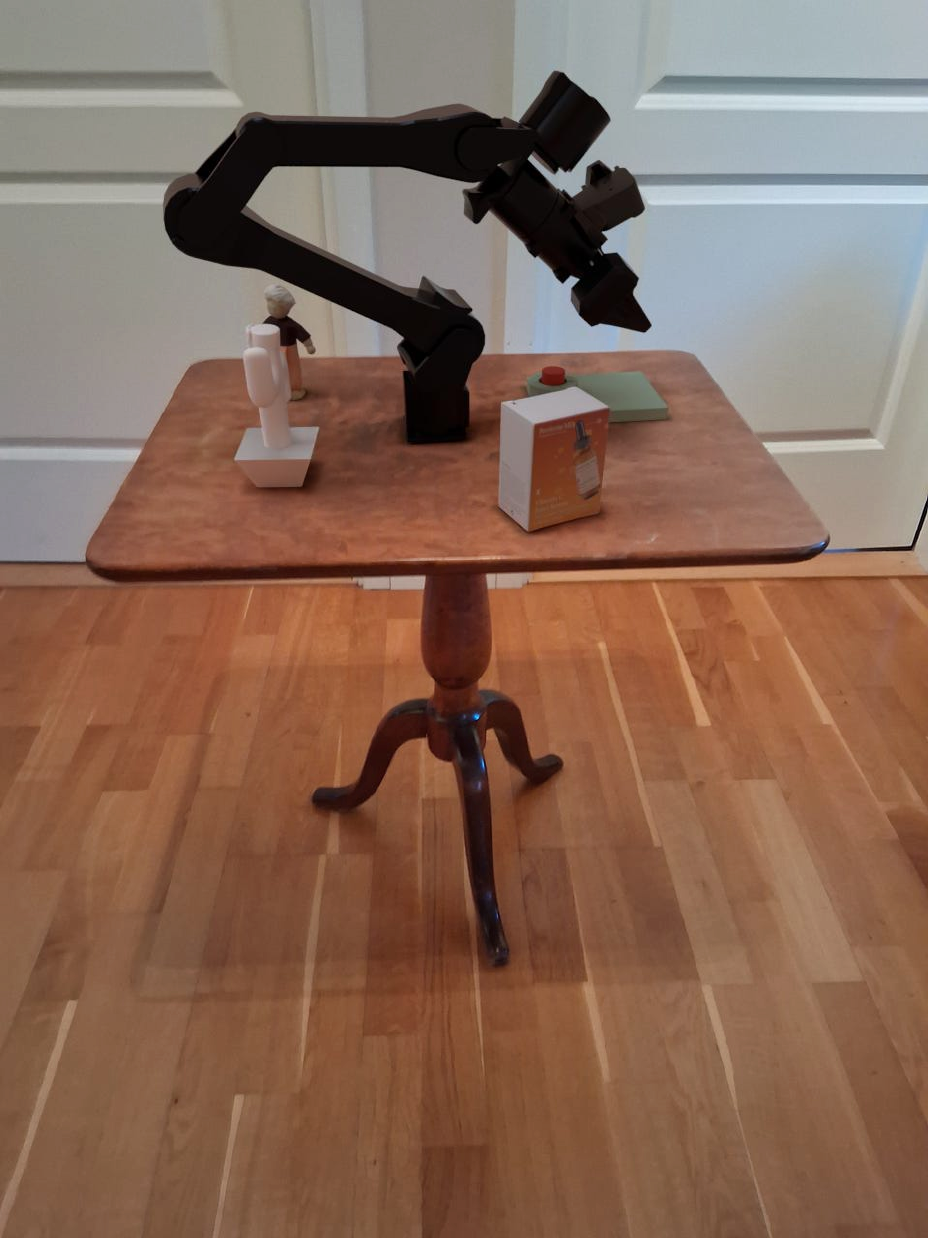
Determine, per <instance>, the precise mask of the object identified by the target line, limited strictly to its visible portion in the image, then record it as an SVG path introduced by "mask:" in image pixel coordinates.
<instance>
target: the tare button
mask: <svg viewBox="0 0 928 1238" xmlns="http://www.w3.org/2000/svg"><path fill="white" fill-rule="evenodd" d="M541 372H542V380H541V383H542V384H544V385H549V386H560V385H563V384H564V381H565V373H566V369H565V368H564V367H560V366H556V365H550V366H544V367H543V368H542V369H541Z"/></svg>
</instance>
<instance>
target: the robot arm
mask: <svg viewBox="0 0 928 1238" xmlns="http://www.w3.org/2000/svg"><path fill="white" fill-rule="evenodd" d="M611 121H612V119H611V117H610V115H609V113H608V112H607V110H606V109H605V108H604V106H603V105H602V103H600V102H599V100H598V99H596V97H594V96H592V95H589V94H588V93H587V92H586V91H585V90H584V89H583V88H581V86H579V85H578V84H577V83H575V82H574V81H573V80H571V79H570V78H569V76H567V74H566V73H565V72H564V71H560V70H553V71H552V72H551V74H550V75H549V76H548V78H547V79H546V81H545V83H544V84H543V87H542V88H541V90H540V92H539V93H538V95H537V96H536V98H534V100H533V101H532V102H531V104H530V105H529V107H528V108H527V110H525V112H524V114H523V115H522V116H521V117H520V119H519V120H518V121H516V120H514V119H512V118H510V117H507V116H503V117H492V116H490V115H488V114H487V113H485V112H483V111H480V110H479V109H476V108H474V107H472V106H469V105H467V104H463V103H451V104H446V105H440V106H433V107H429V108H424V109H420V110H418V111H414V112H410V113H406V114H403V115H397V116H392V117H390V116H389V117H385V116H384V117H383V116H342V115H341V116H337V115H336V116H335V115H331V116H330V115H285V114H284V115H282V114H281V115H280V114H268V113H265V112H261V111H252V112H248V113H246V114H244V115H243V116H241V118H239V120H238V122H237V123H236V125H235V126H236V127H235V128H234V129H233V130H232V132H231V133H230V134H229V135H228V136H227V137H226V138H225V139H224V140H223V141H222V142H221V143H220V144H219V145H218V146H217V147H216V148H215V149H214V150H213V152H211V153H210V154H209V155H208V157H206V158H205V160H203V162H202V163H201V165H200V166H199V167H198V168H197V169H196V170H195V172H194V173H187V174H185V175H182V176H179V177H176V178H175V179H174V180H173V181H172V182H171V183H169V184H168V186H167V188H166V190H165V192H164V195H163V201H162V215H163V223H164V231H165V232H166V234H167V237H168V239H169V241H170V242H171V244H172V245H173V246H174V247H175V248H176V250H177V251H179V252H181V253H182V254H184V255H186V256H188V257H191V258H194V259H198V260H202V261H204V262H205V261H206V262H209V263H214V264H218V265H222V266H225V267H233V268H241V269H251V270H252V269H253V270H256V271H261V272H264V273H265V274H268V275H270V276H272V277H274V278H277V279H278V280H282V281H284V282H286V283H289V284H291V285H292V286H295V287H297V288H300V289H301V290H303V291H306V292H308V293H310V294H312V295H315V296H317V297H319V298H321V299H323V300H326V301H329V302H331V303H333V304H335V305H337V306H340V307H342V308H344V309H346V310H349V311H351V312H353V313H354V314H355V313H356V314H358V315H360V316H362V317H365V318H367V319H369V320H371V321H373V322H375V323H378V324H380V325H383V326H384V327H387V328H390V329H391V330H392V331H394V332H395V333H397V335H399V336H401V337H402V340H401V341H400V342H399V343H398V344H397V346H396V350H397V352H398V355H399V358H400V360H401V362H402V363H403V365H404V366H405V367H406V370H403V371H402V386H403V387H402V389H403V410H404V413H403V416H402V421H403V426H404V427H403V428H404V434H405V441H406V442H407V443H409V444H414V443H415V444H416V443H430V442H431V443H432V442H434V443H435V442H448V441H450V442H451V441H465V440H467V439H468V432H467V429H468V428H469V427H470V425H471V424H470V423H471V422H470V421H471V417H470V413H471V412H470V410H471V409H470V407H471V405H470V403H471V402H470V401H471V400H470V397H471V396H470V393H471V392H470V390H469V386H468V384H467V380H468V378H469V377H470V376H469V375H470V373H471V370H472V367H473V364H474V363H475V362H476V361H478V360H479V358H480V357H481V355H482V354H483V351H484V349H485V346H486V333H485V329H484V326H483V324H482V323H481V322H480V321H479V319H478V318H477V317H476V316H475V315H474V313H472V312H473V311H474V309H473V308H472V306H471V305H470V304H469V303H468V302H467V301H466V300H465V299H464V298H463V297H462V296H461V294H460V293H459V292H458V291H457V290H456V289H451V288H450V289H449V288H445V287H441V286H440V285H438V284H437V283H435V282H434V281H432V280H431V279H429V277H427V276H425V275H422V276H421V279H420V283H419V286H418V287H410V286H402V285H399V284H397V283H395V282H393V281H390V280H388V279H386V278H384V277H382V276H380V275H378V274H377V273H374V272H371V271H370V270H367V269H365V268H363V267H361V266H359V265H357V264H355V263H353V262H351V261H349V260H347V259H345V258H342V257H340V256H338V255H336V254H334V253H331V252H330V251H328V250H325V249H323V248H321V247H319V246H317V245H315V244H313V243H311V242H309V241H306V240H304V239H302V238H300V237H298V236H296V235H294V234H292V233H289V232H288V231H286V230H284V229H281V228H279V227H277V226H275V225H272V224H271V223H269V222H268V221H267V220H266V219H264V218H263V217H262V216H261V215H259V214H258V213H257V212H256V211H254V210H253V209H251V208H250V207H249V206H248V205H247V204H248V203H249V202H250V200H251V199H252V198H253V196H254V194H255V193H256V192H257V190H258V188H259V187H260V186H261V184H262V183H263V181H264V180H265V178H266V177H267V176H268V174H269V173H270V172H271V171H272V170H273V169H274V168H280V167H281V168H283V167H284V168H285V167H289V168H291V167H293V168H294V167H295V168H297V167H299V168H301V167H302V168H305V167H306V168H308V167H309V168H401V169H407V170H411V171H412V170H413V171H416V172H419V173H423V174H427V175H431V176H435V177H437V178H443V179H448V180H451V181H452V180H453V181H457V182H462V183H467V184H477V185H476V186H474V187H471V188H463V189H462V191H461V192H462V196H463V201H464V202H463V215H464V217H465V218H466V219H468V221H470V222H471V223H473V224H474V225H478V224H480V223H481V222H482V221H483V219H484V217H486V215H487V214H488V212H490V213H491V214H492V215H493V216H494V217H495V218H496V219H497V220H498V221H499V222H501V224H502V225H503V226H504V227H506V228H507V229H508V231H510V232H511V233H512V234H513V235H514V236H515V237H516V238H518V240H519V241H521V242H522V244H523V245H524V247H525V249H526V251H527V252H528V253H529V254H530V256H532V257H533V258H534V259H536V258H537V257H538V258H539V260H541V261H542V263H544V264H545V265H546V266H547V267H548V269H550V270H551V272H552V274H553V275H554V278H556V279H557V280H558V282H560V283H561V284H562V285H564V284H565V283H566V282H567V280H568V279H570V277H573V278H575V279H578V280H577V281H576V282H575V283H574V284H573V286H572V287H571V288H570V289H571V290H570V302H571V304H572V306H573V308H574V309H575V311H576V313H577V315H578V316H579V317H580V318H581V319H582V320H583V321H584V322H585V323H586V324H587V325H588V326H590V327H591V328H593V327H595V326H599V325H604V326H612V327H617V328H621V329H626V330H629V331H633V332H638V333H642V334H645V333H647V332H648V331H649V330H650V329H651V328H652V326H653V325H652V323H651V321H650V319H649V317H648V316H647V315H646V313H645V311H644V309H643V308H642V306H641V305H640V303H639V302H638V300H637V298H636V297H635V295H634V291H635V289H636V287H637V286H638V284H639V280H640V277H639V276H638V275H637V273H636V271H634V269H633V268H632V266H631V265H630V264H629V263H628V262H627V261H626V260H625V259H624V258H623V256H622V255H621V254H619V253H618V252H607V253H604V250H603V248H602V246H603V245H605V243H606V242H607V241H608V240H609V238H608V237H607V236H606V234H604V233H603V232H608V231H611V230H612V229H614V228H616V227H618V226H619V225H621V224H623V223H625V222H627V221H628V220H630V219H632V218H633V219H635V218H637V217H640V215H642V214H643V213H644V212H645V210H646V206H645V203H644V199H643V197H642V194H641V192H640V189H639V186H638V183H637V180H636V178H635V176H634V175H633V174H632V173H631V172H630V171H629V170H628V169H627V167H620V166H619V165H615V166H614V167H613V168H614V170H612V169H611V168H610V167H609V166H607V164H606V163H604V162H603V161H602V160H600V159H598V160H595V161H594V162H592V163H590V164H589V165H587V166H586V169H585V181H584V184H583V185H580V188H581V191H579V192H578V193H576V194H574V195H573V196H572V195H570V194H569V192H568V191H567V190H566V189H564V188H563V189H562V190H561V189H560V188H558V187H556V186H555V185H554V184H553V183H552V182H551V181H550V180H549V179H548V178H547V177H546V176H545V175H544V174H543V173H542V172H541V171H540V170H539V169H538V168H537V167H536V166H535V165H534V164H533V162H531V161H530V160H529V158H530V157H533V158H534V159H535V160H536V162H538V163H539V164H540V165H541V166H542V167H543V168H544V169H546V170H547V171H548V172H549V173H550V174H552V175H554V176H556V174H557V173H558V172H559V170H561V171H562V172H564V173H565V174H566V173H567V172H568V173H572V171H573V170H574V169H575V168H576V167H577V165H578V164H579V163H580V161H581V160H582V159H583V157H585V155H586V154H587V152H588V151H589V150H590V149H591V148H592V146H593V145H594V144H595V143H596V141H597V140H598V139H599V137H600V136H601V135H602V133H603V132H604V131H605V129H606V128H607V127H608V126H609V125H610V123H611Z"/></svg>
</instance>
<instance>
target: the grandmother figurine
mask: <svg viewBox="0 0 928 1238" xmlns="http://www.w3.org/2000/svg"><path fill="white" fill-rule="evenodd" d="M263 295H264V300H265V302H266V310H267V312H268V314H269V316H268V317H267V318H265V320H263V322H262V323H261V324H271V325H275V326H277V327H279V329H280V347H279V349H280V351H281V352H282V353H283V354H284V356H285V358H286V360H287V364H288V370H289V379H290V387H291V399H290V401H298V400H301V399H303V397H304V396H305V395H306V391H305V389H304V388H303V381H302V380H303V379H302V366H301V365H302V364H301V359H300V354H299V349H298V342H300V343H301V344H302V345H303V346H304V347H305V348H306V352H307V354H308V355H314V354H315V353H316V351H317V348H316V347H315V346H314V343H313V340H312V338H311V337H312V335H311V334H310V332H308V330H307V329H306V328H305V327H303V325H301V323H299V322H298V321H296V320H295V319H293V318H292V317H291V316H289V314H290V312H291V309H293V307H294V306H295V305H297V302H296V299H295V298H294V296H293V294H292V292H290V290H288V289H287V288H286V287H285V286H284V285H281V284H271V285H268V286H267V287H266V288H265V289H264V294H263Z"/></svg>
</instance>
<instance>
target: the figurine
mask: <svg viewBox="0 0 928 1238" xmlns="http://www.w3.org/2000/svg"><path fill="white" fill-rule="evenodd" d="M245 337H246V344H247V347H246V349H245V350H244V351H243V354H242V361H243V368H244V373H245V381H246V387H247V392H248V396H249V398H250V401H251V403H252V404H253V405H254V406H255V407H257V408H258V412H259V413H258V414H259V419H260V427H246V430H245V432H244V435H243V436H242V439H241V442H240V444H239V447H238V449H237V450H236V451H237V452H236V454H235V456H234V458H233V461H234V462H235V464H236V465H237V466H238V467H239V468H240V470H242V472H243V473H244V474H245V475H246V477H247V478H248V479H249V480H250V481H251V482H252V483H253V484H254V486H255V487H256V488H302V487H303V485H304V481H305V478H306V475H307V472H308V469H309V466H310V463H311V459H312V455H313V453H314V449H315V444H316V441H317V437H318V434H319V430H320V426H291V425H290V419H289V412H288V404H287V403H288V402H290V401H291V400H290V399H291V387H290V379H289V370H288V364H287V360H286V358H285V356H284V354H283V353H282V352H281V351H280V349H279V347H280V329H279V327H277V326H275V325H271V324H262V323H260V324H255V323H250V324H248V325H247V326H246V327H245Z"/></svg>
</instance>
